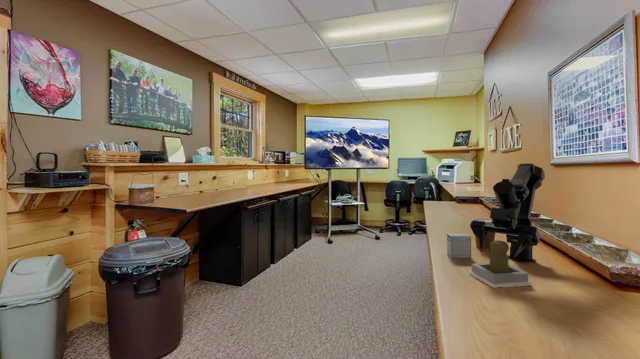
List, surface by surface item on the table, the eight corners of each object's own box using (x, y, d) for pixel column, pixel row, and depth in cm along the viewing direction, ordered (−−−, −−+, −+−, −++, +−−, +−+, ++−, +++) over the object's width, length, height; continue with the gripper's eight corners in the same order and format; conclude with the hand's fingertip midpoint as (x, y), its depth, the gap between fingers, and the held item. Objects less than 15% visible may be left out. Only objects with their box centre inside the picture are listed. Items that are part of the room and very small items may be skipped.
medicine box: (467, 254, 121) (467, 233, 120) (471, 258, 116) (471, 236, 116) (446, 255, 122) (446, 233, 121) (450, 258, 117) (450, 236, 117)
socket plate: (502, 271, 102) (502, 261, 101) (531, 285, 90) (531, 273, 90) (469, 273, 100) (469, 263, 100) (493, 288, 89) (493, 276, 88)
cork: (512, 275, 95) (512, 240, 95) (507, 280, 91) (507, 244, 90) (491, 270, 99) (491, 237, 99) (485, 276, 95) (485, 241, 95)
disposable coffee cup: (502, 248, 128) (502, 220, 127) (489, 252, 123) (489, 223, 123) (480, 243, 136) (480, 217, 136) (467, 247, 131) (467, 220, 131)
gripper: (471, 196, 103) (458, 234, 96) (537, 200, 90) (527, 244, 83) (480, 216, 109) (468, 253, 102) (543, 222, 95) (534, 265, 88)
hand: (497, 253), depth 94 cm, fingers open, 9 cm apart
